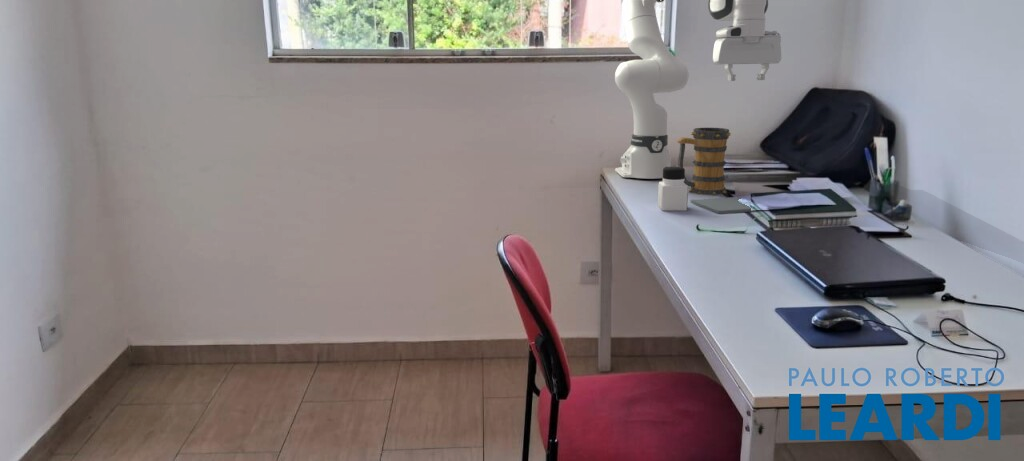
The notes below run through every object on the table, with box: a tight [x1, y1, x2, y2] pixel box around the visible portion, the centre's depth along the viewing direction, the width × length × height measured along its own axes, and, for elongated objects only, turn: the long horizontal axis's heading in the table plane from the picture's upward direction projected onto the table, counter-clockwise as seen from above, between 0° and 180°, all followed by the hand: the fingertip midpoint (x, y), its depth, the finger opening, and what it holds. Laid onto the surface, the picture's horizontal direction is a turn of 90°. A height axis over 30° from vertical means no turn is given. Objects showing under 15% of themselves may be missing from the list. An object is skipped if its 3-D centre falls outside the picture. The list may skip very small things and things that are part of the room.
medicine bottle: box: [657, 165, 689, 212], centre depth 215 cm, size 7×7×12 cm
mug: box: [676, 127, 732, 196], centre depth 235 cm, size 13×17×20 cm
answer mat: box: [690, 196, 752, 215], centre depth 218 cm, size 16×16×1 cm
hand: (746, 80), depth 219 cm, fingers open, 8 cm apart
